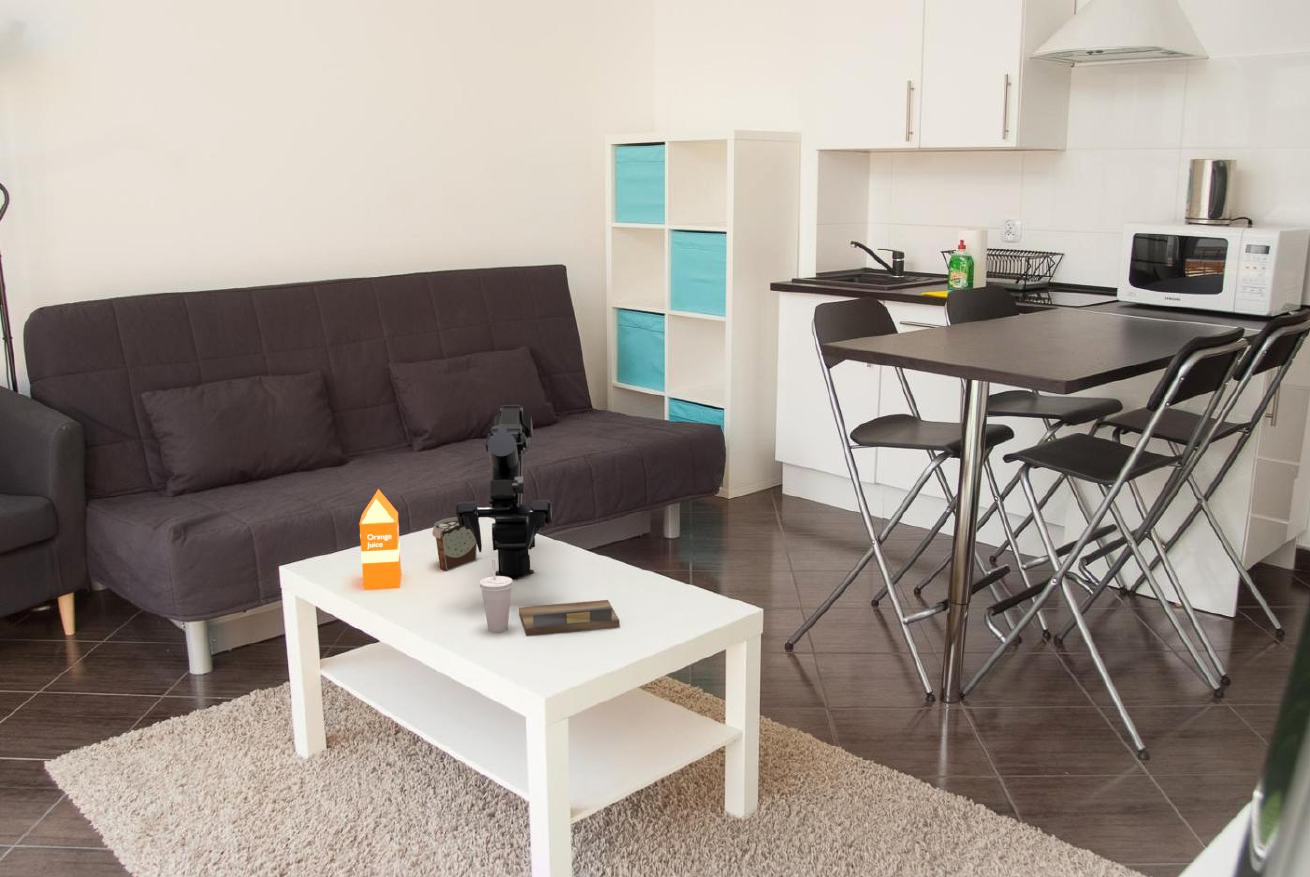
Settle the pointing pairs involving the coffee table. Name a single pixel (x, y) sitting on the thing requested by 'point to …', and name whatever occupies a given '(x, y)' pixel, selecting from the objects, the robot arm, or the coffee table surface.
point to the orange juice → (380, 545)
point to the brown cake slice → (454, 544)
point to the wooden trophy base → (568, 617)
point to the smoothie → (496, 600)
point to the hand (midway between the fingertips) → (503, 550)
